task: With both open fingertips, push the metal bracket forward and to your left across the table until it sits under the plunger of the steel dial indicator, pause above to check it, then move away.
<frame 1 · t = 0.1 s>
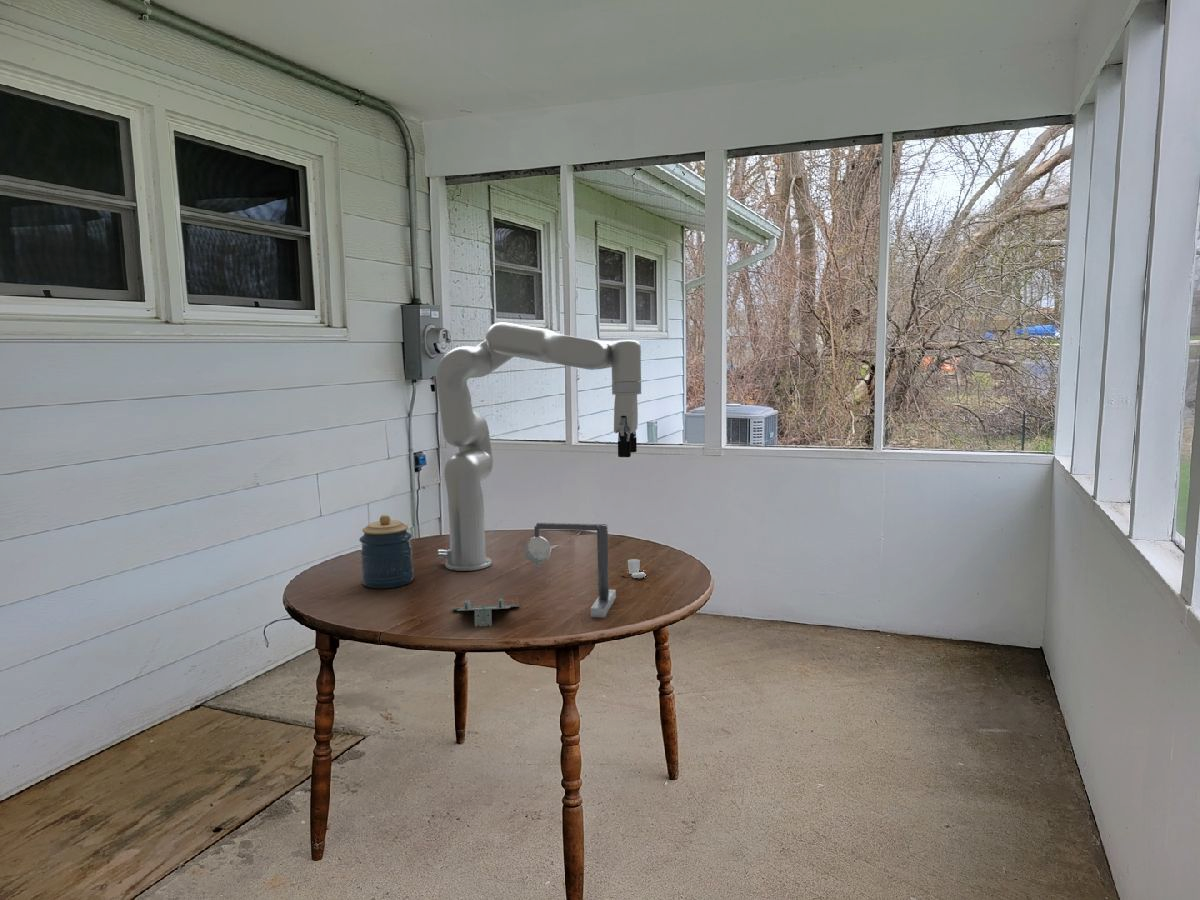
hand: (627, 454, 203), 31 cm above the table, tool pointing down, fingers open, 9 cm apart
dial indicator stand: (603, 607, 177), on the table
white ring with cylinder: (626, 579, 202), on the table
metal bracket: (485, 619, 173), on the table
canister: (388, 582, 201), on the table
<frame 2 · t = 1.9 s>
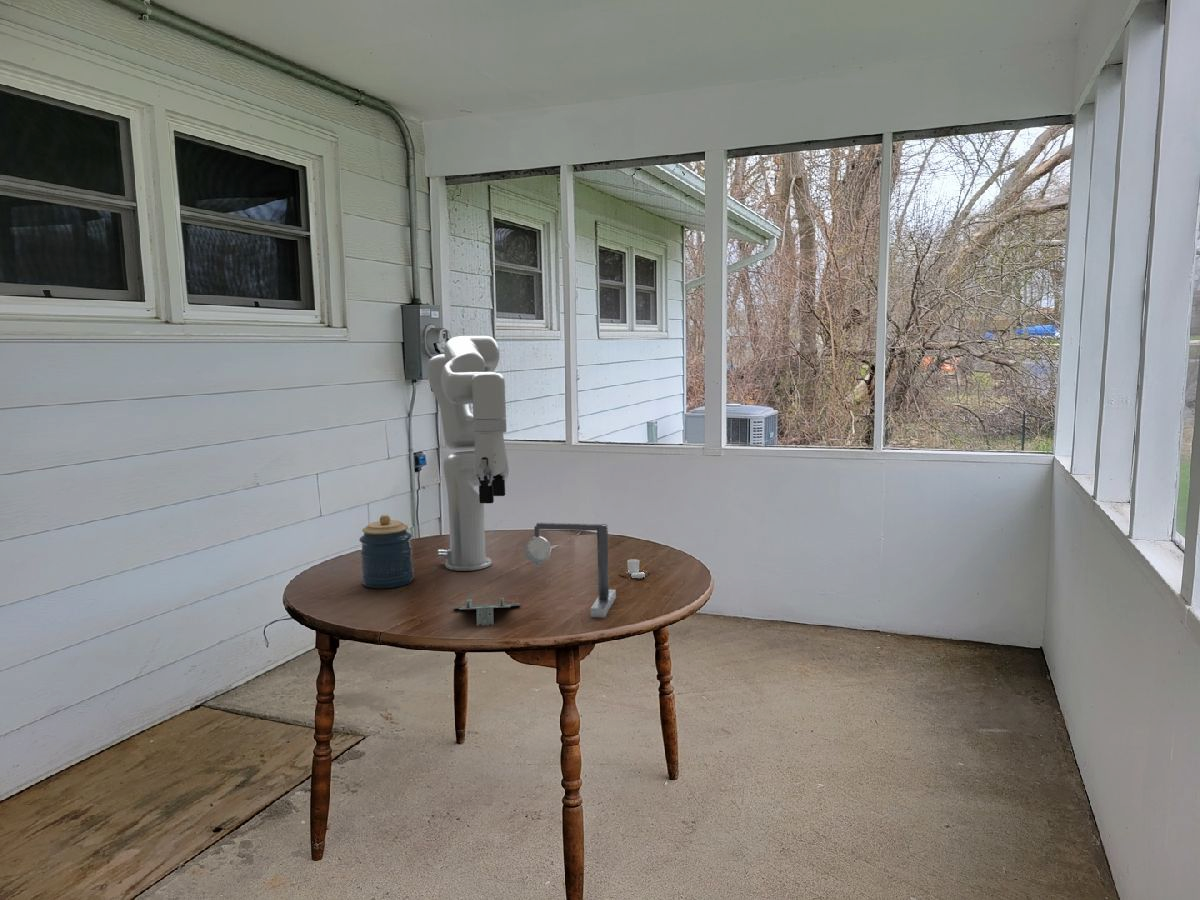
hand: (492, 499, 182), 24 cm above the table, tool pointing down, fingers open, 9 cm apart
nothing on the table moved.
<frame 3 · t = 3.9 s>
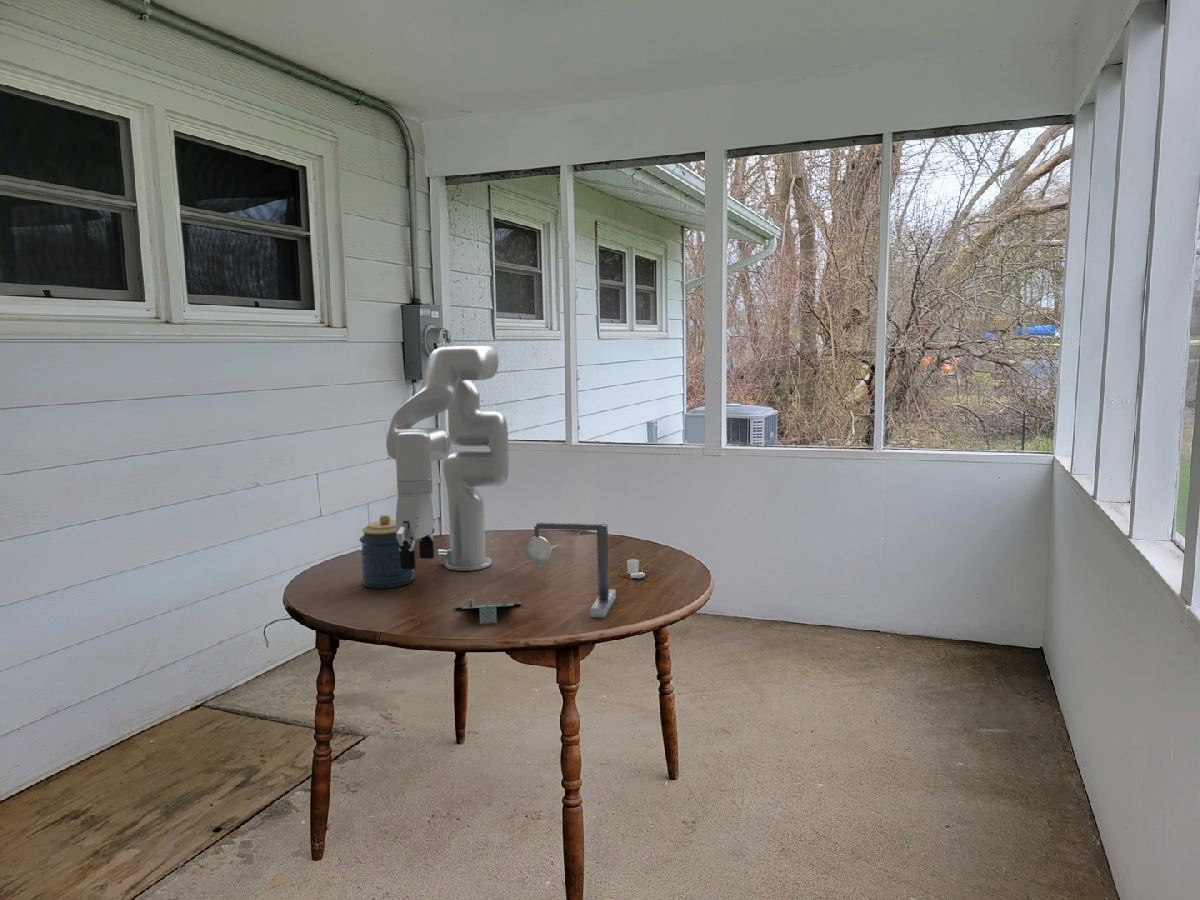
hand: (417, 563, 174), 12 cm above the table, tool pointing down, fingers open, 9 cm apart
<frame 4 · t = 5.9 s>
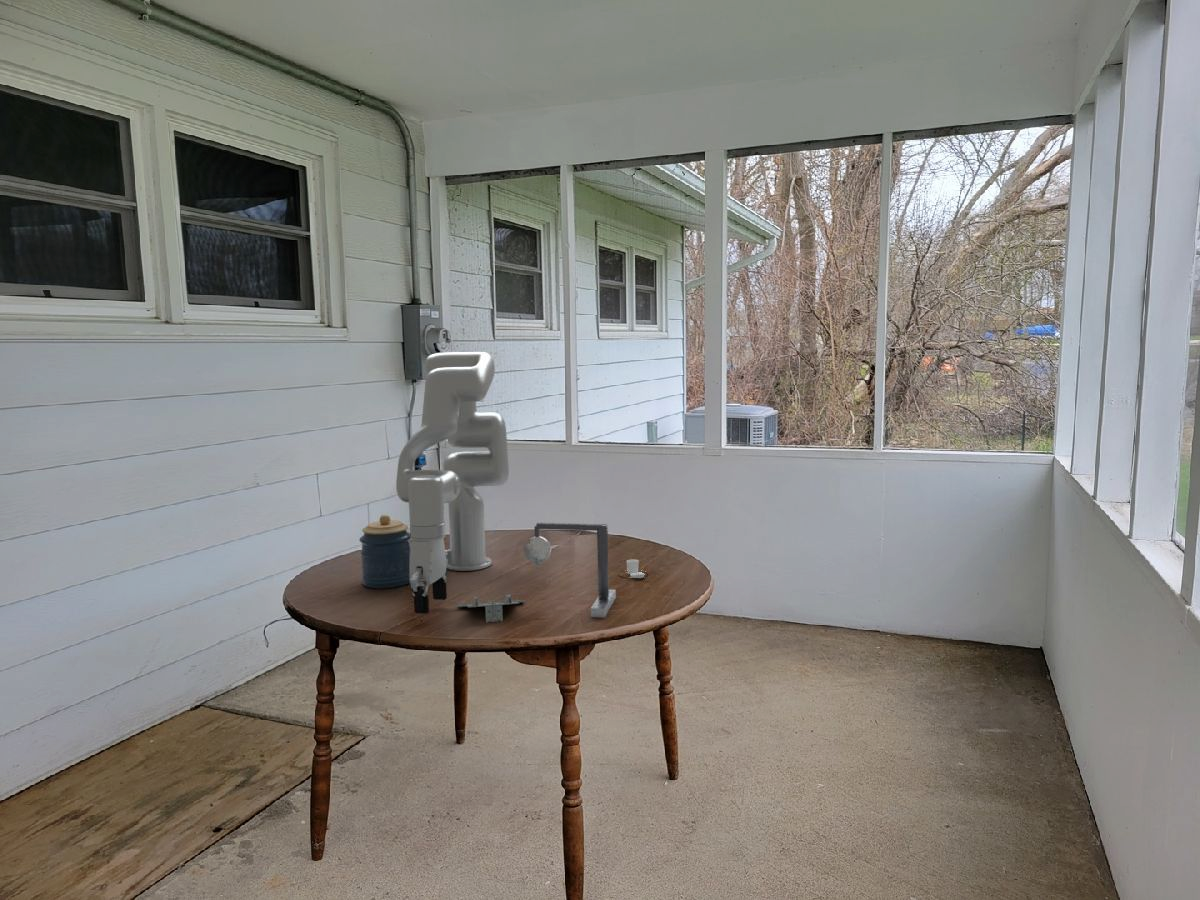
hand: (431, 605, 175), 2 cm above the table, tool pointing down, fingers open, 9 cm apart
metal bracket: (492, 615, 176), on the table
everything else where it was.
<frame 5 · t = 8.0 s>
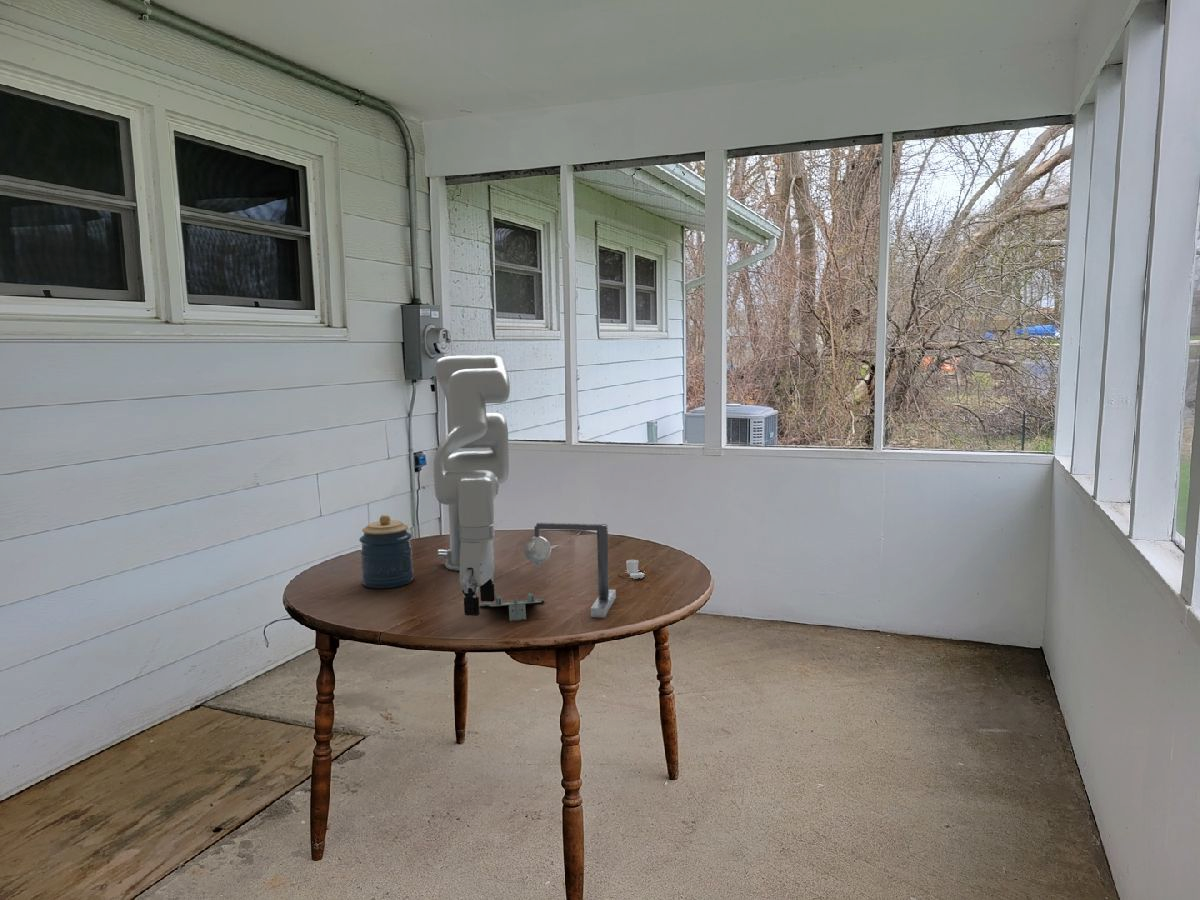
hand: (480, 607, 173), 2 cm above the table, tool pointing down, fingers open, 9 cm apart
metal bracket: (514, 613, 176), on the table
everything else where it was.
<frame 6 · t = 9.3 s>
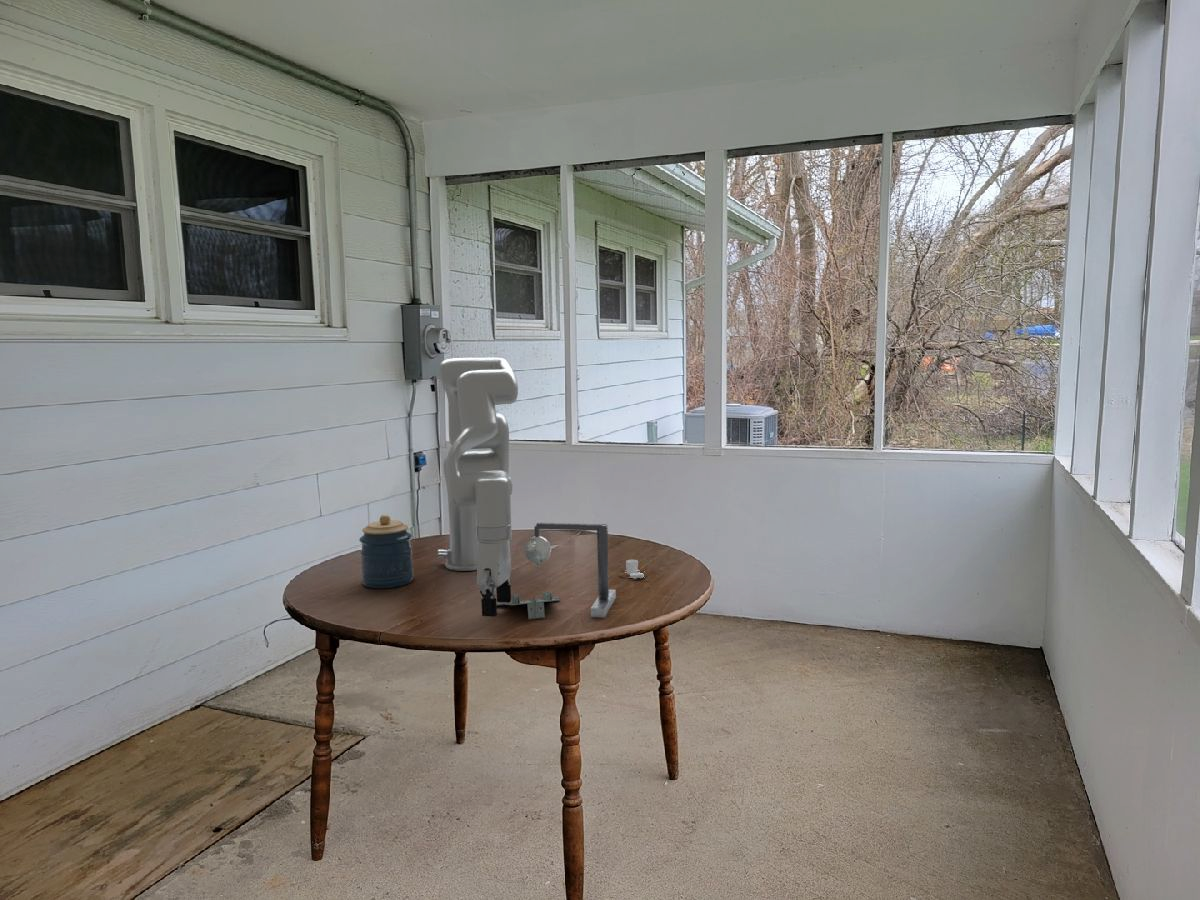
hand: (496, 608, 172), 2 cm above the table, tool pointing down, fingers open, 9 cm apart
metal bracket: (531, 612, 177), on the table
everything else where it was.
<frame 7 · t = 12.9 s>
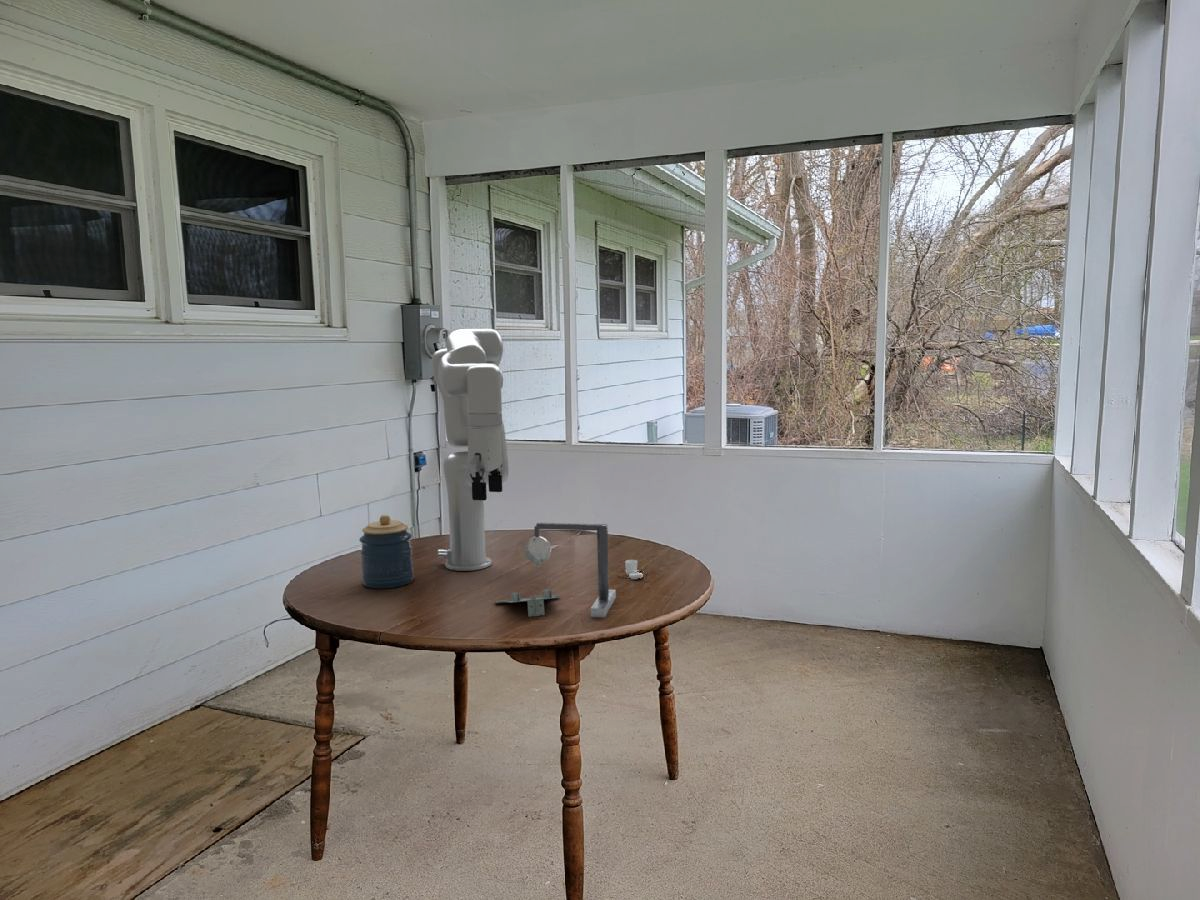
hand: (487, 495, 177), 26 cm above the table, tool pointing down, fingers open, 9 cm apart
metal bracket: (531, 609, 179), on the table
everything else where it was.
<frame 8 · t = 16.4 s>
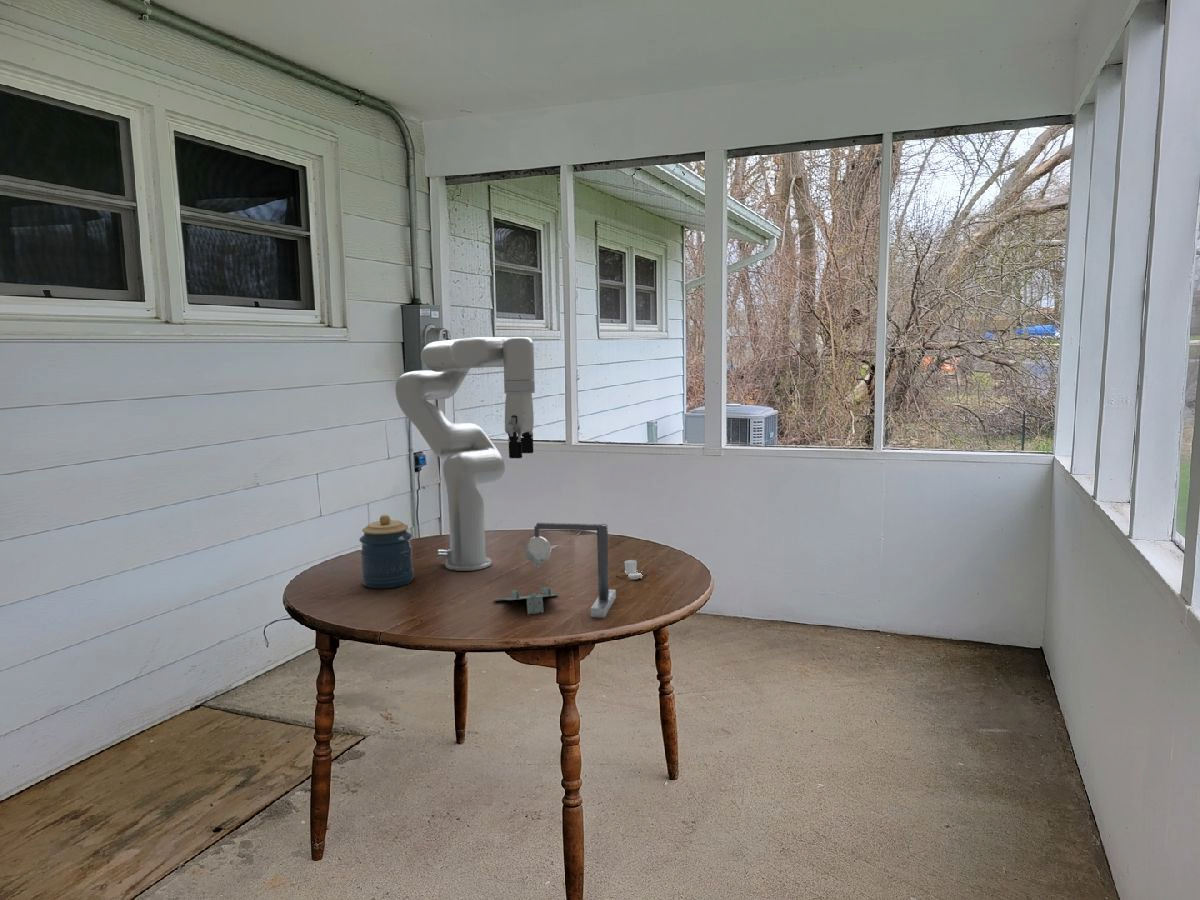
hand: (521, 455, 196), 32 cm above the table, tool pointing down, fingers open, 9 cm apart
metal bracket: (530, 607, 180), on the table
at the end: metal bracket inside the target area (2.7 cm from its centre), on the table; metal bracket moved 12.2 cm from its start; metal bracket touching table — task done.
